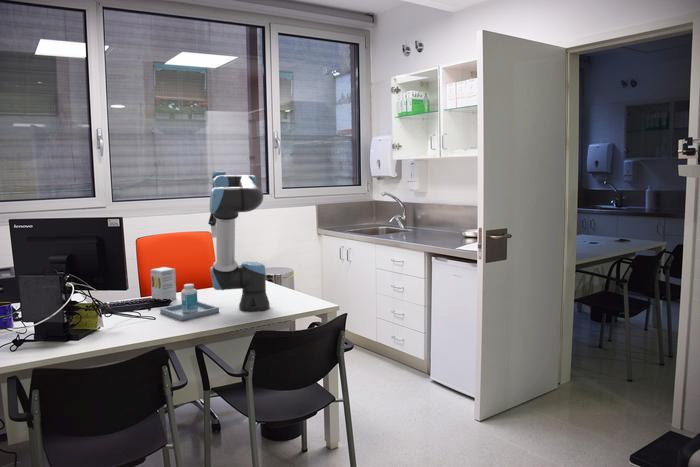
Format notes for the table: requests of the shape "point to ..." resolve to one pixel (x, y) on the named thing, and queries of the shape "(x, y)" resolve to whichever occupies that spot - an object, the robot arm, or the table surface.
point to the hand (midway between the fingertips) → (221, 238)
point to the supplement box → (163, 283)
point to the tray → (179, 315)
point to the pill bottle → (189, 299)
